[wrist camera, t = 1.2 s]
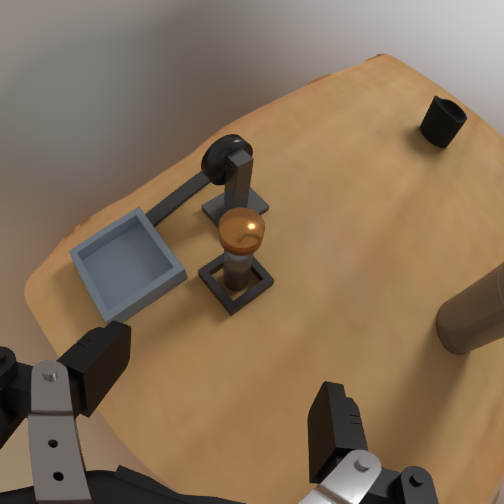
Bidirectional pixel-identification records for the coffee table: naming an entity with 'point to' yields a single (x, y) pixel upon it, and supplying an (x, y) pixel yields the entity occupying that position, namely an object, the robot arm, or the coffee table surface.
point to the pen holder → (442, 121)
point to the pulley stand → (230, 177)
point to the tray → (127, 266)
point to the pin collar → (245, 298)
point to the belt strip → (177, 198)
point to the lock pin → (239, 244)
